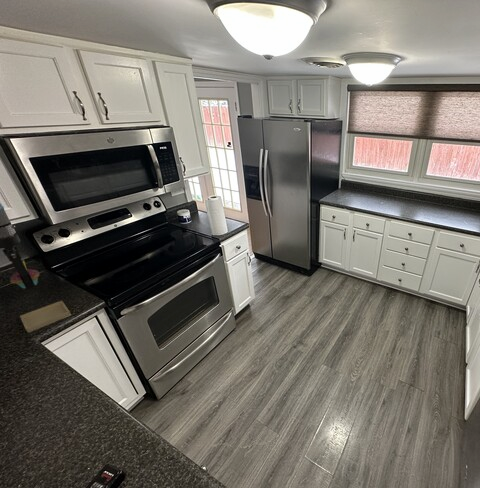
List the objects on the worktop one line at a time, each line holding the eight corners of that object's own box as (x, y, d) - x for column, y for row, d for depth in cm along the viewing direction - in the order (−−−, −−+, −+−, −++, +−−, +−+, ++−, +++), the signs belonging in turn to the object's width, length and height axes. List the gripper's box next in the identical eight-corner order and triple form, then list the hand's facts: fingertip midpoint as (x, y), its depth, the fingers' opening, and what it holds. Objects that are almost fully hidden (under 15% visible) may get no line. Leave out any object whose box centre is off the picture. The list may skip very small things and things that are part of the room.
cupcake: (33, 278, 118) (21, 255, 113) (48, 281, 117) (37, 257, 112) (9, 289, 111) (-5, 265, 106) (25, 292, 109) (11, 267, 104)
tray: (21, 319, 117) (19, 315, 116) (63, 303, 128) (61, 300, 127) (27, 332, 110) (25, 329, 110) (71, 315, 121) (69, 311, 120)
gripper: (21, 240, 101) (46, 288, 111) (11, 226, 112) (35, 272, 122) (-8, 246, 95) (21, 297, 105) (-16, 232, 107) (11, 279, 116)
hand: (28, 283), depth 114 cm, fingers closed on cupcake, 8 cm apart
